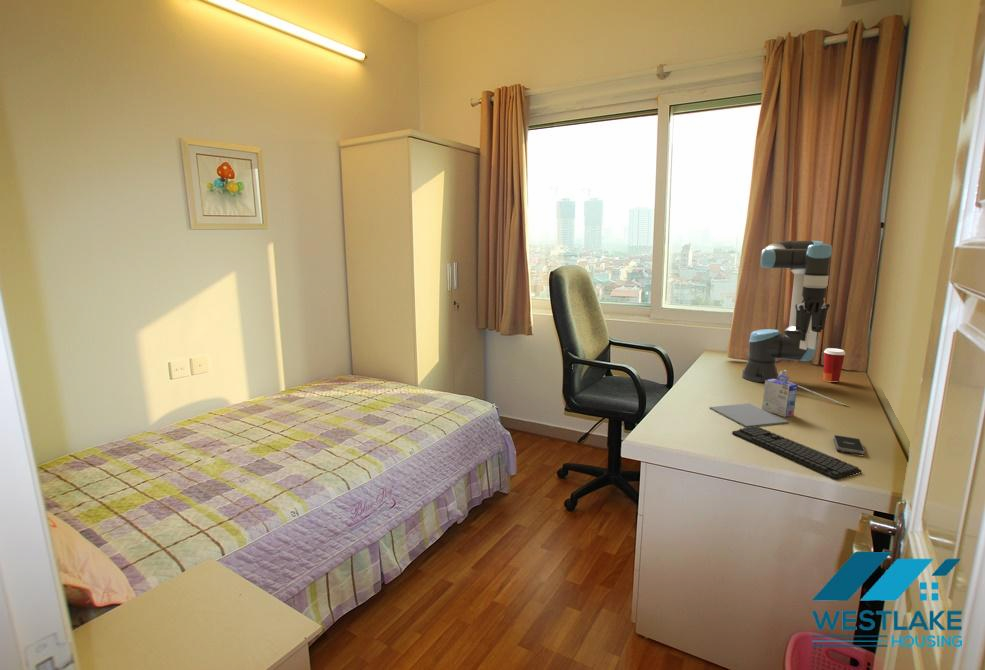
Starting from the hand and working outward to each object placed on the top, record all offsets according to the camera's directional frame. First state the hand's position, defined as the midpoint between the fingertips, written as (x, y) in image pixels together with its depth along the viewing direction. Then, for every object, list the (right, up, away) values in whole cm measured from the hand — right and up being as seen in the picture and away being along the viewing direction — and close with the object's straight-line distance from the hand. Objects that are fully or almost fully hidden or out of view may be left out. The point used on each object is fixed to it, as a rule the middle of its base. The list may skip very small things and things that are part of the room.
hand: (807, 348), depth 185 cm
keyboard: (-25, -32, -31) cm, 51 cm away
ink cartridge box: (-10, -25, +3) cm, 27 cm away
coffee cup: (+38, -17, +42) cm, 58 cm away
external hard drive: (-5, -31, -28) cm, 43 cm away
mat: (-23, -25, 0) cm, 34 cm away
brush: (+14, -21, +20) cm, 32 cm away
